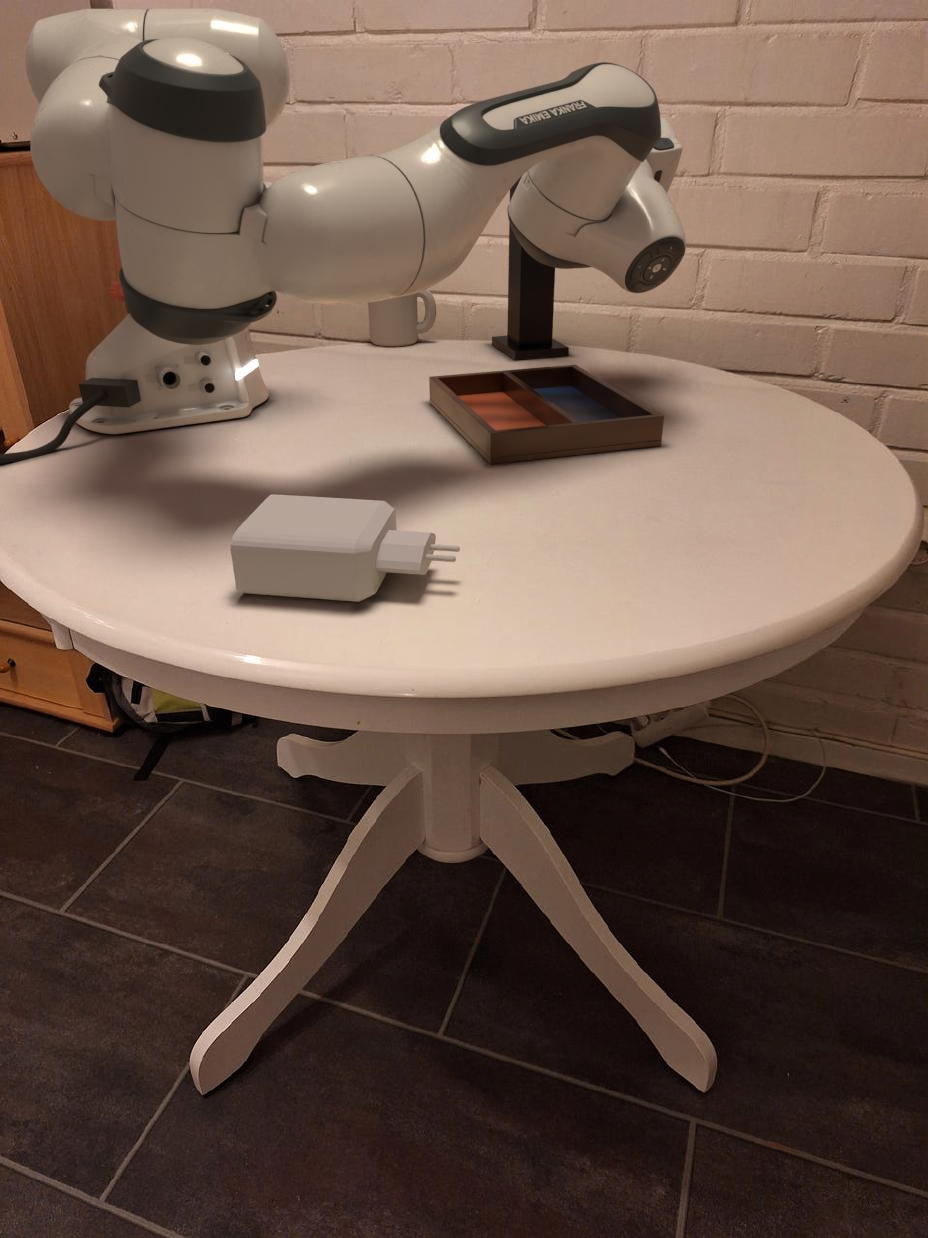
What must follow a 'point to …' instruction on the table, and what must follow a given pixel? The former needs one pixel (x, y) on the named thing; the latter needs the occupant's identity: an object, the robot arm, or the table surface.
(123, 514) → the table surface
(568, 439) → the sorting tray
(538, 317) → the spoon stand
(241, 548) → the charger
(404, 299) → the cup
